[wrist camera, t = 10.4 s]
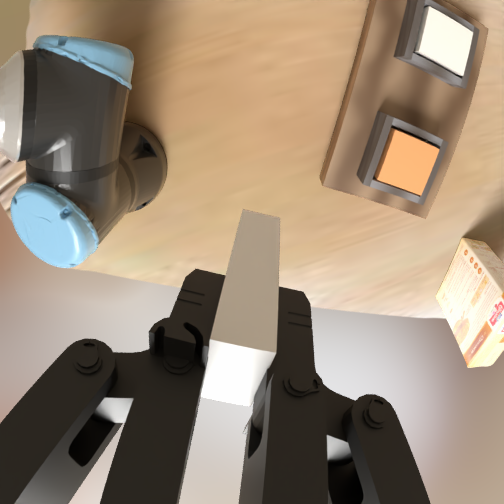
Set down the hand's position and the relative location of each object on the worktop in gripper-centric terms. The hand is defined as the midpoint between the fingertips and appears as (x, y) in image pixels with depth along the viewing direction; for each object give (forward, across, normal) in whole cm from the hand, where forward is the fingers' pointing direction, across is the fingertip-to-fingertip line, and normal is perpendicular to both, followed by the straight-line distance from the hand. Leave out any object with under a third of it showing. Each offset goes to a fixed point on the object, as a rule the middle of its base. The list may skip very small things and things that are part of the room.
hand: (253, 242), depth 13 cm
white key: (+29, +18, +19) cm, 39 cm away
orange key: (+29, +18, +1) cm, 34 cm away
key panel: (+34, +18, +10) cm, 40 cm away
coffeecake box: (+35, +44, -16) cm, 58 cm away
